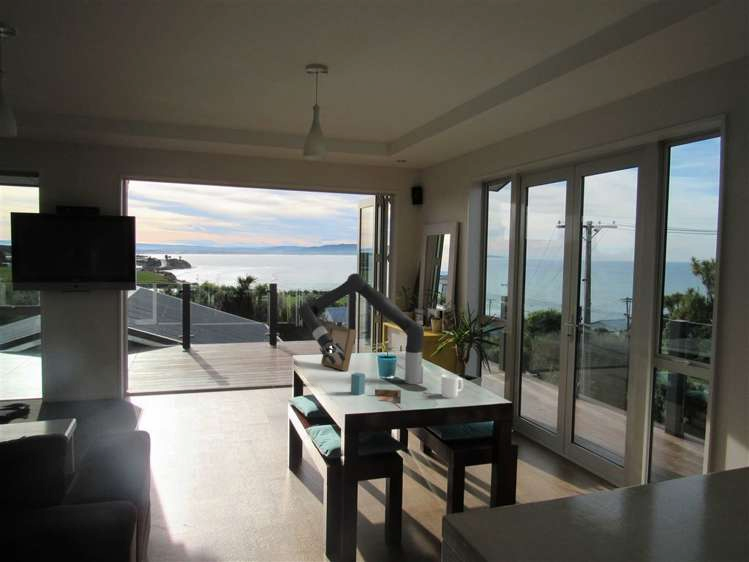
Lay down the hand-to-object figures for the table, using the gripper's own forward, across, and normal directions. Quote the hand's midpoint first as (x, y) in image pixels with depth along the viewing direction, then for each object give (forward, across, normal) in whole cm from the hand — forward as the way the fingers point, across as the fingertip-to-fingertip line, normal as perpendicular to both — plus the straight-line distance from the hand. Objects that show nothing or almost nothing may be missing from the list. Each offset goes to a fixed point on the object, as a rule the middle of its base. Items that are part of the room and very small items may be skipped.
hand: (339, 361), depth 285 cm
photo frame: (-11, +44, +33) cm, 56 cm away
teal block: (+19, 0, +2) cm, 19 cm away
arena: (+31, 0, -10) cm, 32 cm away
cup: (+47, +26, -26) cm, 60 cm away
